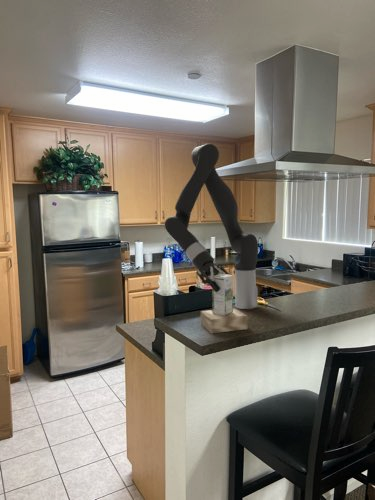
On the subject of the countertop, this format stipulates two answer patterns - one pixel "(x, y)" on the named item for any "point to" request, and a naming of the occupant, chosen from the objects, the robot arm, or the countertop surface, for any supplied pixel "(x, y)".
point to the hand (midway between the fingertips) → (224, 288)
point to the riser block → (223, 321)
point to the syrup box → (223, 295)
